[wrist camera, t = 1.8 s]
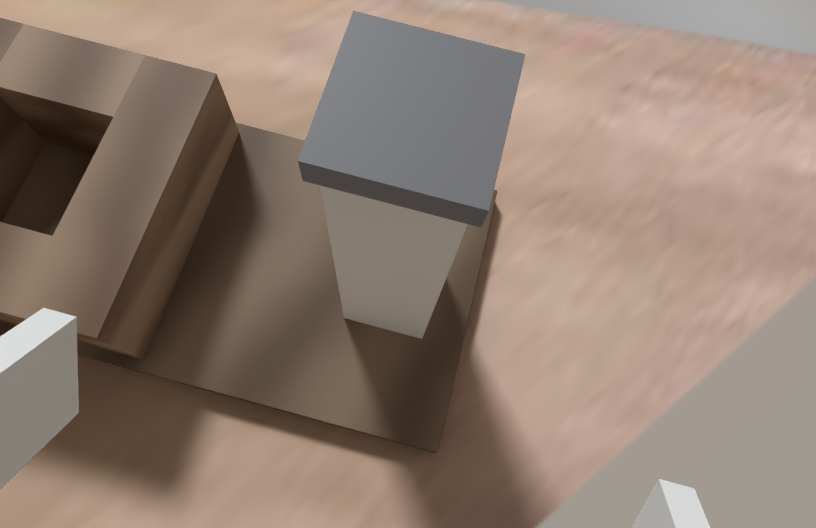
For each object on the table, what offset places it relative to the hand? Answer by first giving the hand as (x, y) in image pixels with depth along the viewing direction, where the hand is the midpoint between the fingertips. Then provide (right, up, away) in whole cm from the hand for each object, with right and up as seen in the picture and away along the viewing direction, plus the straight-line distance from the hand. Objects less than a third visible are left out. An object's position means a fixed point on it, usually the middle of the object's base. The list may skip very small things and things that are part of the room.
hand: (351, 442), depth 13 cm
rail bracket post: (+1, +3, +16) cm, 17 cm away
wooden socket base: (-10, +5, +18) cm, 21 cm away
